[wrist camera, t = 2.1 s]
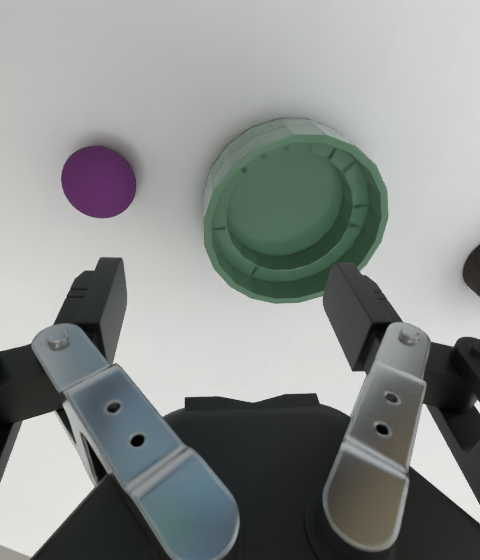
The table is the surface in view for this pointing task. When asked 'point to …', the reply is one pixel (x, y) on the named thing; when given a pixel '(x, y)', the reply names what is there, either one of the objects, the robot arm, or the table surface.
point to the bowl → (291, 210)
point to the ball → (98, 182)
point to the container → (473, 271)
